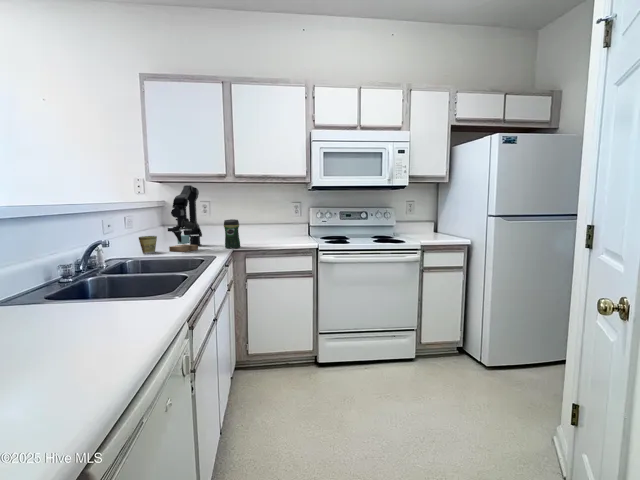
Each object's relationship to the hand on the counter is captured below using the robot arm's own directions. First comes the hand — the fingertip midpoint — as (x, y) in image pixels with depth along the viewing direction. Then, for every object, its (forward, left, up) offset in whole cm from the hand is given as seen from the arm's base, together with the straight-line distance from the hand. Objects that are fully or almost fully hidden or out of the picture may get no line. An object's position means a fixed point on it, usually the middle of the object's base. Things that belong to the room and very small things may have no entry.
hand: (183, 241), depth 221 cm
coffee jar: (-19, +23, -6) cm, 30 cm away
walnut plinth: (0, 0, -6) cm, 6 cm away
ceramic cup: (+13, -15, -6) cm, 21 cm away
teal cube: (0, 0, -1) cm, 1 cm away
